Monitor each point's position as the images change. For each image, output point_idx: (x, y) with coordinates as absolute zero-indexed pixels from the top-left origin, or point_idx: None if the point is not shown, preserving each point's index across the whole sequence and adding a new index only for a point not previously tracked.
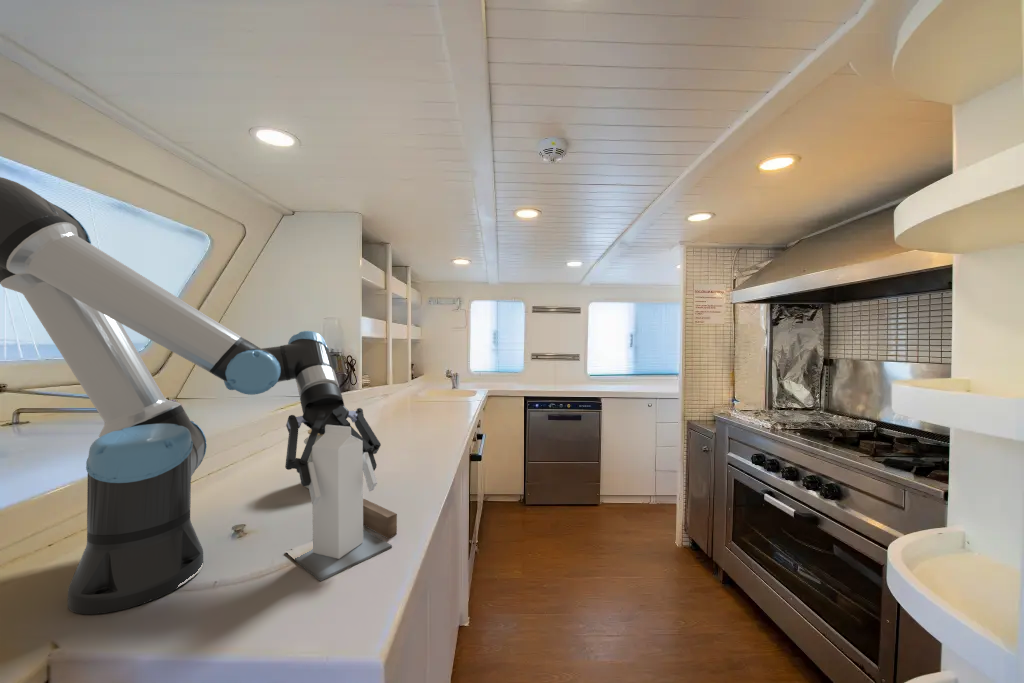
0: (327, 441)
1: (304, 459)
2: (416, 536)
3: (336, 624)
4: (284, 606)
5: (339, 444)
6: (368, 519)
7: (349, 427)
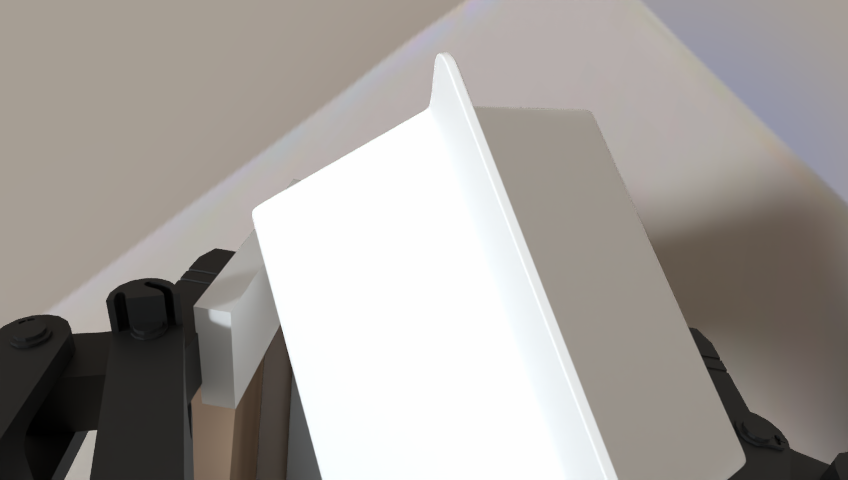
0: (629, 335)
1: (757, 428)
2: (195, 236)
3: (588, 57)
4: (655, 205)
5: (566, 141)
6: (247, 451)
7: (452, 65)
